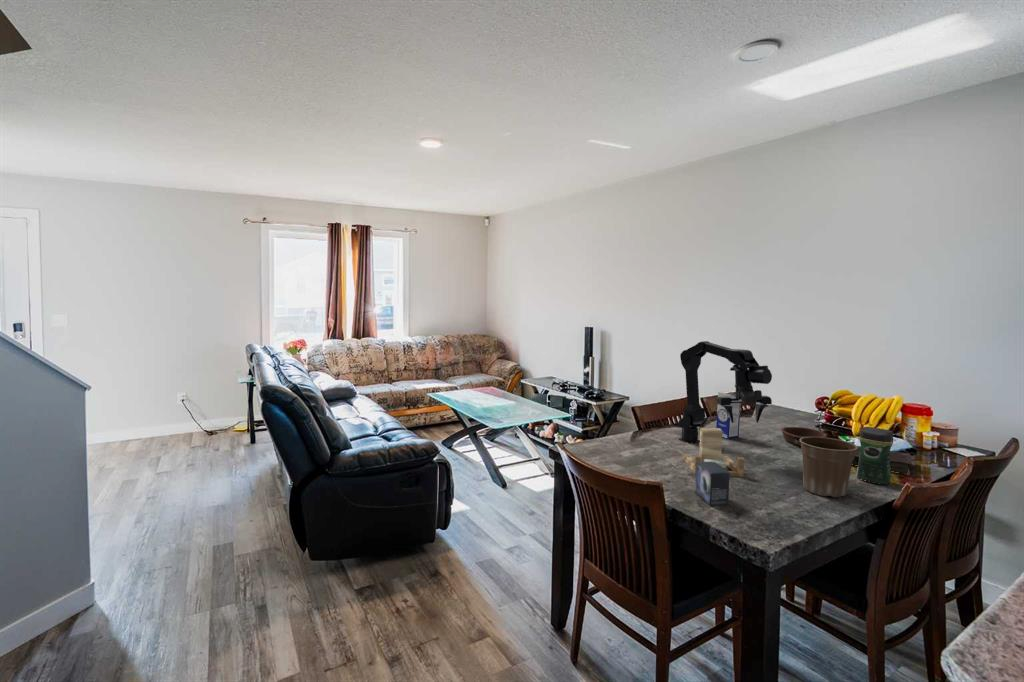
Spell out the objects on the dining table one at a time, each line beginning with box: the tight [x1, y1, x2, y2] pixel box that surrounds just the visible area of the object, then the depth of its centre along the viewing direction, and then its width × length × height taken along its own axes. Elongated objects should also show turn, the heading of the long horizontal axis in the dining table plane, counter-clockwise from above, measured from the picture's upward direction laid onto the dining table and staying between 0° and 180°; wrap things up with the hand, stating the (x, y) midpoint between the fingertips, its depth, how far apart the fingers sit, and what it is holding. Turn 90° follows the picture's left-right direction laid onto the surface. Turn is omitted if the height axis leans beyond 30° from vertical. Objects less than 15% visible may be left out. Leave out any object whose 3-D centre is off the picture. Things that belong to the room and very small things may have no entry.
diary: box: [852, 445, 912, 474], centre depth 203 cm, size 19×25×5 cm
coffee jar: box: [856, 425, 894, 485], centre depth 183 cm, size 10×8×19 cm
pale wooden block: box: [698, 427, 723, 462], centre depth 196 cm, size 4×7×14 cm, turn 84°
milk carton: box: [715, 391, 742, 440], centre depth 236 cm, size 7×7×20 cm
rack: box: [684, 454, 745, 478], centre depth 192 cm, size 17×16×7 cm
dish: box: [780, 426, 827, 447], centre depth 230 cm, size 18×22×5 cm
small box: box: [695, 461, 731, 507], centre depth 165 cm, size 11×6×10 cm, turn 5°
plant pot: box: [800, 437, 858, 498], centre depth 172 cm, size 16×16×16 cm
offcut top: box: [704, 459, 727, 468], centre depth 189 cm, size 4×7×2 cm, turn 78°
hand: (744, 422), depth 206 cm, fingers open, 9 cm apart
